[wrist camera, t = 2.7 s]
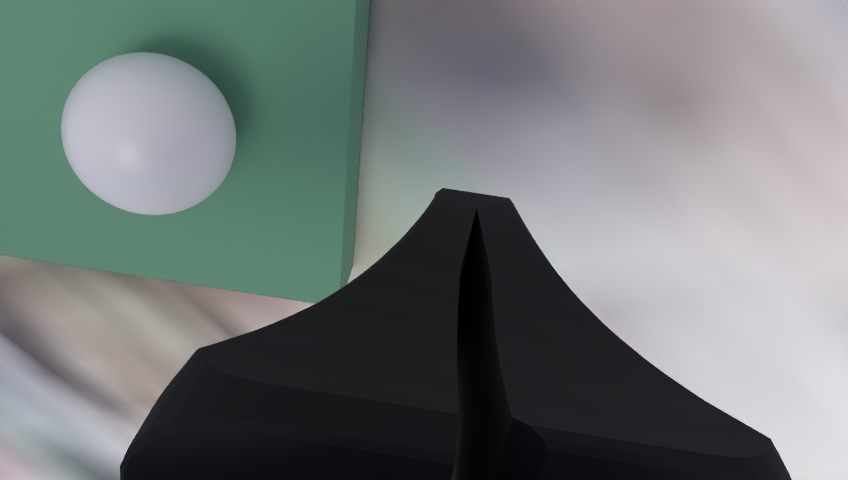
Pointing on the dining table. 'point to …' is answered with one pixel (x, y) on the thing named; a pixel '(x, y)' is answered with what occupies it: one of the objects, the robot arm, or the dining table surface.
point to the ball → (148, 133)
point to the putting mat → (254, 155)
